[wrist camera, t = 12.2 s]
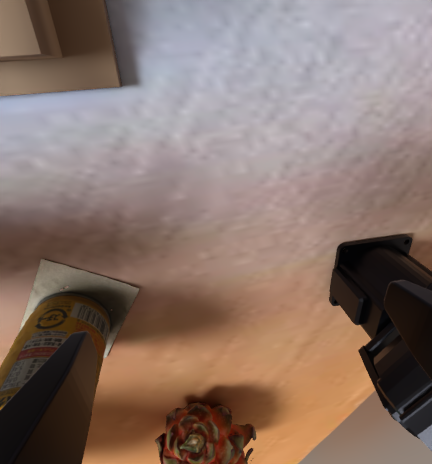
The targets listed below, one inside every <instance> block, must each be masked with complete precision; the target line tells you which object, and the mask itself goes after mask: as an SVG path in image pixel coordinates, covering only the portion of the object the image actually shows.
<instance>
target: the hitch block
mask: <svg viewBox="0 0 432 464" xmlns="http://www.w3.org/2000/svg"><path fill="white" fill-rule="evenodd" d="M121 86H122V83H121V78H120V73H119V68H118V63H117V58H116V53H115V47H114V42H113V37H112V32H111V27H110V22H109V17H108V12H107V7H106V2H105V0H0V96H9V95H22V94H34V93H47V92H60V91H73V90H85V89H98V88H111V87H121Z"/></svg>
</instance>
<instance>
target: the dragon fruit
mask: <svg viewBox="0 0 432 464" xmlns="http://www.w3.org/2000/svg"><path fill="white" fill-rule="evenodd" d="M231 419H232V416H231V410H230V409H229V408H227V407H224V406H222V405H219V406H216V407H214V408H212V409H211V408H210V406H209V405H208V404H206V403H200V402H198V403H192V404H188V405H187V407H186V408H185V410H184V409H180V408H176V409H175V410H173V411H172V412H171V413H170V414H168V415H167V421H166V433H165V434H164V433H163V434H162V435H161V436H159V437H158V438H157V439H156V440H155V442H156V443H157V445H158V450H159V457H160V462H161V464H247V463H248V462H247V461H248V458H249V456H250V454H251V453H252V451H253V448H251V449H249V450H248V452H247V454H246V457H245V455H244V451H243V448H244V447H245V446H246V445H247V444H248V443H249V441H250V440H251V438H253V440H256V431H255V428H254V427H253V426H252V425H251V424H246V425H244V426H243V425H242V426H241V425H233V424H231ZM252 460H253V459H252Z"/></svg>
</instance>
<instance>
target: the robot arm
mask: <svg viewBox="0 0 432 464" xmlns="http://www.w3.org/2000/svg"><path fill="white" fill-rule="evenodd" d="M411 243H412V238H411V237H410V236H408V235H399V236H392V237H385V238H378V239H371V240H364V241H357V242H350V243H343V244H341V245H339V246H338V248H337V253H336V259H335V265H334V269H333V272H332V279H331V285H330V297H329V301H330V303H331V304H332V305H333V306H338V305H340V306H341V307H342V309H343V310H344V311H345V313H346V314H347V315H348V317H349V318H350V319H351V321H352V322H353V323H354V324H355V325H361V326H362V328H363V329H364V330H365V331H366V333H367V334H368V335H369V337H370V338H371V339H372V340H371V341H370V342H369V343H368V344H366V345H365V346H362V347H361V348H360V349H359V350H358V351H359V353H360V356H361V358H362V360H363V363H364V365H365V367H366V370H367V372H368V374H369V376H370V378H371V380H372V383H373V385H374V387H375V389H376V391H377V393H378V396H379V398H380V400H381V402H382V404H383V406H384V408H385V409H386V410H387V411H388V412H389V414H390V415H391V417H392V418H393V419H394V420H396V421H398V422H399V423H400V424H401V425H402V426H403V427H404V428H405V429H406V430H408V431H409V432H410V433H411V434H412V435H414V436H416V437H417V438H419V439H421V440H422V441H423V442H424V443H425V444H426V446H427V447H428V448H429V449H430V450H431V451H432V271H430V270H429V269H428V268H426V267H425V266H424V265H422V264H421V263H419V262H418V261H417V260H415V259H414V258H413V257H411V256H410V255H409V254H408V253H409V250H410V247H411ZM343 249H345V250H344V251H343ZM96 367H97V350H96V348H95V345H94V342H93V340H92V337H91V335H90V333H89V332H88V331H81V332H75V333H72V334H71V335H70V336H69V337H68V338H67V339H66V340H65V341H64V342H63V343H62V344H61V345H60V347H59V348H58V349H57V350H56V351H55V352H54V353H53V354H52V355H51V356H50V357H49V358H48V359H47V360H46V362H45V363H44V364H43V365H42V366H41V367H40V368H39V369H38V370H37V371H36V372H35V373H34V374H33V375H32V376H31V378H30V379H29V380H28V381H27V382H26V383H25V384H24V385H23V386H22V387H21V388H20V389H19V390H18V391H17V393H16V394H15V395H14V396H13V397H12V398H11V399H10V400H9V401H8V402H7V403H6V404H5V405H4V406H3V407H2V409H1V410H0V464H82V459H83V454H84V450H85V445H86V440H87V435H88V431H89V426H90V420H91V415H92V407H93V397H94V387H95V377H96Z"/></svg>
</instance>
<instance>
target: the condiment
mask: <svg viewBox="0 0 432 464" xmlns="http://www.w3.org/2000/svg"><path fill="white" fill-rule="evenodd" d="M65 286H69V287H68V288H64V287H65ZM62 288H63V289H64V290H62V291H60V289H62ZM138 291H139V288H136V287H133V286H130V285H128V284H125V283H122V282H119V281H116V280H112V279H109V278H107V277H103V276H100V275H96V274H93V273H90V272H87V271H85V270H79V269H75V268H71V267H68V266H66V265H63V264H58V263H54V262H50V261H47V260H44V259H41V262H40V265H39V268H38V272H37V275H36V278H35V281H34V285H33V288H32V291H31V294H30V298H29V301H28V305H27V308H26V311H25V314H24V317H23V321H22V324H21V327H20V330H19V333H18V336H17V337H16V339H15V341H14V343H13V345H12V347H11V348H10V351H9V353H8V355H7V356H6V358H5V359H4V361H3V363H2V365H1V367H0V410H1V409H2V407H3V406H4V405H5V404H6V403H7V402H8V401H9V400H10V399H11V398H12V397H13V396H14V395H15V394H16V393H17V391H18V390H19V389H20V388H21V387H22V386H23V385H24V384H25V383H26V382H27V381H28V380H29V379H30V378H31V376H32V375H33V374H34V373H35V372H36V371H37V370H38V369H39V368H40V367H41V366H42V365H43V364H44V363H45V362H46V360H47V359H48V358H49V357H50V356H51V355H52V354H53V353H54V352H55V351H56V350H57V349H58V348H59V347H60V345H61V344H62V343H63V342H64V341H65V340H66V339H67V338H68V337H69V336H70V335H71V334H72V333H75V332H81V331H88V332H89V333H90V335H91V337H92V340H93V342H94V345H95V348H96V350H97V367H96V377H95V387H94V397H95V392H96V388H97V384H98V381H99V380H98V379H99V375H100V370H101V366H102V362H103V358H106V357H107V354H108V352H109V350H110V348H111V346H112V344H113V342H114V340H115V338H116V336H117V334H118V332H119V329H120V328H121V326H122V323H123V322H124V320H125V318H126V316H127V313H128V312H129V309H130V307H131V305H132V303H133V301H134V299H135V298H136V295H137V293H138ZM111 309H112V311H111ZM94 397H93V401H94Z"/></svg>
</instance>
